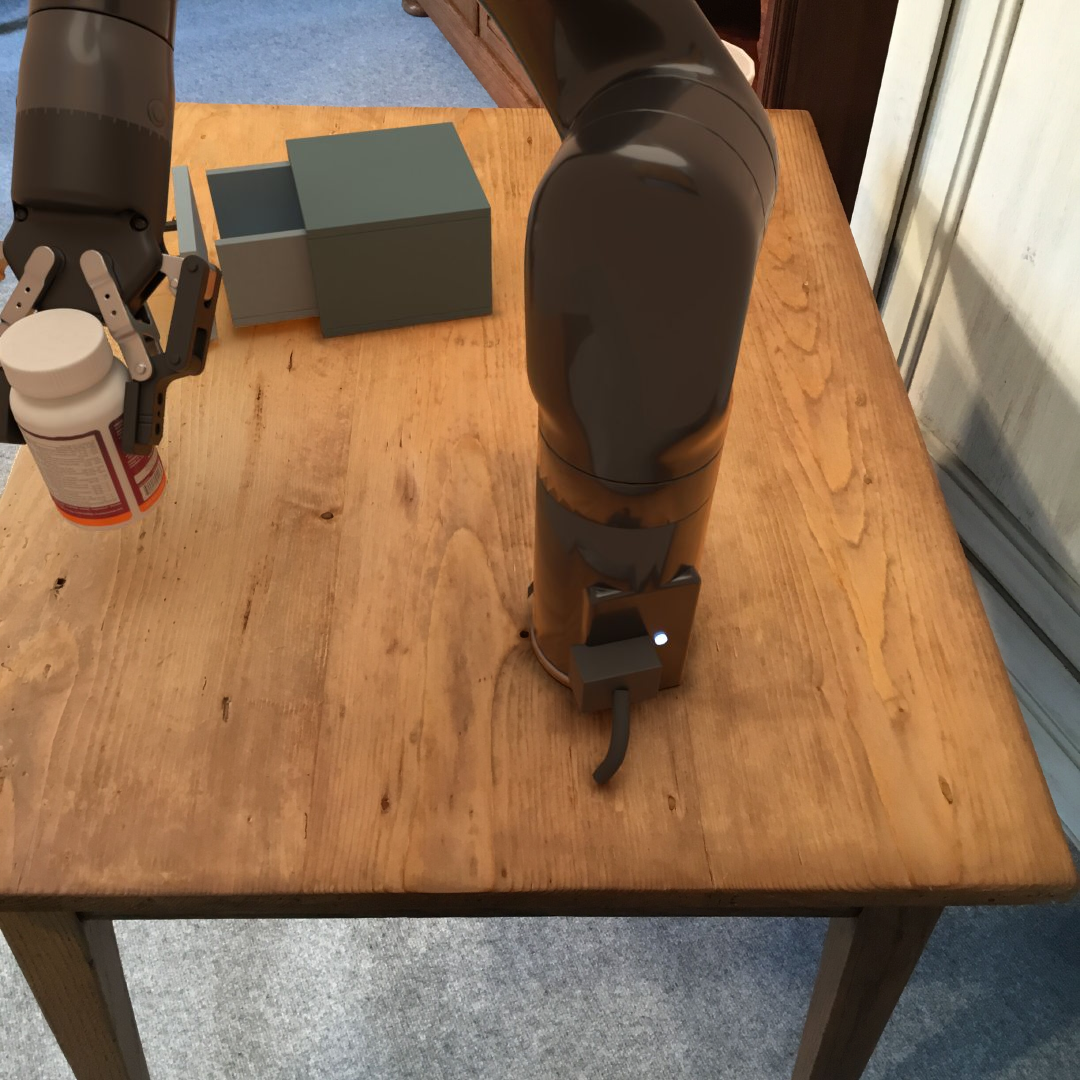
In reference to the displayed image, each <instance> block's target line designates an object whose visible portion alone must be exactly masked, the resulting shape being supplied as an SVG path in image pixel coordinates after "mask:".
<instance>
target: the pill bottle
mask: <svg viewBox="0 0 1080 1080" xmlns="http://www.w3.org/2000/svg"><path fill="white" fill-rule="evenodd" d="M0 363H1V365H2V367H3V369H4V372H5V375H6V377H7V380H8V382H9V384H10V385H11V386H12V387H11V390H10V406H11V410H12V412H13V415H14V418H15V420H16V422H17V424H18V426H19V428H20V430H21V432H22V434H23V437H24V439H25V441H26V443H27V444H26V445H27V447H28V449H29V452H30V454H31V456H32V458H33V461H34V462H35V465H36V467H37V469H38V471H39V473H40V475H41V477H42V480H43V483H44V484H45V486H46V488H47V490H48V492H49V495H50V497H51V500H52V501H53V504H54V505H55V507H56V509H57V512H58V513H59V514H60V516H61V517H62V518H63V519H64V520H65V521H66V523H68V524H69V525H71V526H73V527H75V528H76V529H79V530H83V531H88V532H96V533H98V532H101V533H103V532H104V533H105V532H112V531H119V530H123V529H126V528H128V527H131V526H133V525H135V524H137V523H140V522H141V521H143V520H145V519H147V518H148V517H150V516H151V515H152V514H153V513H154V512H155V511H156V510H157V509H158V508H159V506H160V505H161V504H162V501H163V500H164V498H165V495H166V492H167V487H168V479H167V474H166V472H165V468H164V464H163V461H162V459H161V455H160V453H159V451H158V448H157V447H158V446H156V445H153V448H152V452H151V454H150V455H149V456H140V455H129V454H124V453H123V452H122V449H121V440H122V427H123V413H124V399H125V385H126V382H133V377H132V376H131V374H130V372H129V370H128V367H127V365H126V363H125V362H123V361H122V359H120V358H119V357H117V356H116V355H114V352H113V349H112V346H111V344H110V341H109V339H108V336H107V333H106V330H105V328H104V326H102V324H101V322H100V321H99V320H98V319H97V318H96V317H94V316H93V315H91V314H89V313H87V312H84V311H81V310H76V309H51V310H45V311H41V312H38V313H36V312H34V314H32V315H29V316H27V317H25V318H23V319H21V320H19V321H17V322H16V323H14V324H13V325H11V326H10V327H9V328H8V329H7V330H6V331H5V332H4V333H3V334H2V336H1V337H0Z"/></svg>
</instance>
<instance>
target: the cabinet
mask: <svg viewBox="0 0 1080 1080" xmlns="http://www.w3.org/2000/svg"><path fill="white" fill-rule="evenodd" d="M285 147H286V154H287V159H288V160H287V161H290V165H291V169H292V174H293V178H294V182H295V187H296V191H297V195H298V200H299V204H300V208H301V213H302V217H303V221H304V226H305V230H306V234H307V241H308V248H309V254H310V260H311V267H312V273H313V280H314V286H315V292H316V299H317V305H318V312H319V316H317V318H318V322H319V326H320V331H321V334H322V338H323V339H329V338H335V337H337V338H338V337H343V336H350V335H358V334H365V333H371V332H379V331H385V330H393V329H398V328H404V327H413V326H420V325H426V324H433V323H441V322H446V321H456V320H461V319H467V318H475V317H481V316H488V315H493V257H492V256H493V253H492V251H493V250H492V249H493V247H492V246H493V245H492V244H493V243H492V241H493V240H492V207H491V204H490V202H489V199H488V197H487V195H486V193H485V192H484V191H485V190H484V188H483V187H482V185H481V183H480V180H479V177H478V176H477V173H476V171H475V169H474V167H473V164H472V162H471V160H470V158H469V156H468V154H467V151H466V149H465V147H464V145H463V142H462V140H461V138H460V136H459V133H458V131H457V129H456V126H455V124H454V122H453V121H447V122H437V123H428V124H419V125H409V126H400V127H392V128H391V127H390V128H383V129H372V130H364V131H355V132H354V131H353V132H345V133H337V134H335V133H334V134H326V135H316V136H308V137H298V138H291V139H289V138H288V139H285Z"/></svg>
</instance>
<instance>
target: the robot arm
mask: <svg viewBox="0 0 1080 1080" xmlns="http://www.w3.org/2000/svg"><path fill="white" fill-rule="evenodd" d="M475 1H476V2H477V3H478V4H479V6H480V7H481V8H482V9H483V10H484V11H485V13H486V15H488V16H489V18H490V19H491V20H492V22H493V23H494V25H495V26H496V28H497V29H498V30H499V32H500V34H501V35H502V36H503V38H504V40H505V41H506V42H507V44H508V45H509V47H510V49H511V50H512V52H513V54H514V55H515V57H516V59H517V60H518V62H519V63H520V65H521V66H522V68H523V70H524V72H525V73H526V75H527V77H528V79H529V81H530V82H531V84H532V86H533V87H534V89H535V91H536V93H537V95H538V96H539V98H540V100H541V102H542V104H543V106H544V108H545V110H546V111H547V113H548V115H549V117H550V120H551V121H552V124H553V126H554V128H555V130H556V133H557V134H558V136H559V139H560V142H561V145H560V146H559V148H558V149H557V151H556V153H555V155H554V157H553V158H552V160H551V161H550V163H549V165H548V167H547V168H546V170H545V172H544V173H543V175H542V177H541V178H540V180H539V182H538V184H537V186H536V189H535V191H534V194H533V196H532V200H531V202H530V206H529V207H530V208H529V210H528V216H527V221H526V228H525V238H524V239H525V240H524V255H523V256H524V257H523V296H524V297H523V298H524V333H525V335H524V336H525V364H526V365H525V367H526V375H527V382H528V385H529V388H530V391H531V393H532V396H533V399H534V400H535V402H536V403H537V442H536V443H537V445H536V446H537V447H536V448H537V449H536V468H535V469H536V471H535V508H534V541H533V542H534V543H533V544H534V546H533V579H532V582H531V583H530V584H529V585H528V586H527V590H526V591H527V595H526V597H527V600H529V598H530V597H531V596H532V597H533V598H532V613H531V617H530V639H531V645H532V648H533V651H534V653H535V656H536V657H537V660H538V661H539V663H540V664H541V665H542V667H543V668H544V669H545V670H546V672H548V674H549V675H551V676H552V677H553V678H554V679H555V680H556V681H558V682H559V683H561V684H562V685H564V686H566V687H567V688H569V689H571V690H572V694H573V696H574V698H575V702H576V704H577V707H578V710H579V713H580V714H581V715H584V714H588V713H593V712H598V711H603V710H607V709H611V733H610V734H611V735H610V740H609V746H608V749H607V753H606V755H605V757H604V759H603V760H602V761H601V762H600V763H599V765H598V766H597V767H596V768H595V769H594V771H593V772H592V774H591V775H592V780H593V781H594V782H595V783H597V784H598V785H601V786H604V785H607V784H608V783H609V782H610V780H612V778H613V776H614V775H615V774H616V773H617V772H618V770H619V769H620V768H621V766H622V765H623V762H624V760H625V758H626V754H627V751H628V748H629V742H630V731H631V704H635V703H639V702H644V701H648V700H653V699H656V698H657V697H658V694H659V690H661V689H667V688H670V687H675V686H678V685H680V684H682V682H683V677H684V672H685V667H686V662H687V657H688V653H689V647H690V644H691V639H692V632H693V627H694V624H695V618H696V613H697V608H698V603H699V599H700V593H701V590H702V589H701V588H702V585H703V584H702V583H703V581H702V576H701V575H700V568H701V562H702V558H703V552H704V547H705V543H706V537H707V531H708V526H709V522H710V517H711V511H712V507H713V506H712V505H713V501H714V495H715V491H716V485H717V480H718V477H719V472H720V466H721V463H722V462H721V461H722V456H723V450H724V446H725V441H726V437H727V433H728V429H729V422H730V418H731V414H732V409H733V404H734V381H735V375H736V371H737V367H738V366H737V365H738V361H739V355H740V350H741V344H742V339H743V335H744V329H745V325H746V324H745V323H746V319H747V315H748V308H749V305H750V300H751V294H752V289H753V285H754V280H755V275H756V272H757V271H756V270H757V267H758V261H759V257H760V254H761V251H762V249H763V248H762V247H763V244H764V242H765V238H766V234H767V231H768V228H769V224H770V221H771V217H772V214H773V210H774V207H775V202H776V198H777V195H778V191H779V181H780V180H779V179H780V156H779V150H778V145H777V138H776V135H775V131H774V128H773V126H772V123H771V120H770V118H769V116H768V114H767V112H766V110H765V107H764V106H763V104H762V102H761V100H760V98H759V97H758V95H757V93H756V92H755V89H754V88H753V86H751V85H750V83H749V82H748V80H747V78H746V77H745V75H744V74H743V72H742V71H741V69H740V68H739V66H738V65H737V63H736V62H735V60H734V59H733V57H732V56H731V54H730V53H729V51H728V49H727V48H726V46H725V45H724V44H723V42H722V41H721V40H722V39H721V38H720V36H719V34H718V33H717V32H716V30H715V28H714V27H713V26H712V24H711V23H710V21H709V20H708V19H707V17H706V15H705V14H704V12H703V11H702V9H701V8H700V6H699V4H698V3H697V1H696V0H475ZM178 2H179V0H29V1H28V12H27V13H28V14H27V15H28V18H27V19H28V20H27V25H26V33H25V38H24V42H23V46H22V51H21V54H20V60H19V67H18V68H19V69H18V76H17V77H18V79H17V91H16V92H17V93H16V96H15V122H14V123H15V124H14V138H13V153H12V155H13V156H12V166H11V168H12V169H11V180H10V181H11V182H10V200H11V205H12V211H13V220H12V222H11V223H12V224H11V226H10V228H9V230H8V232H7V233H6V235H5V236H4V238H3V240H0V283H1V282H2V281H4V280H5V279H6V273H5V272H6V269H7V267H8V266H9V269H10V270H11V271H12V273H13V275H14V276H15V278H16V280H17V281H18V283H17V284H16V286H15V288H14V290H13V291H12V293H11V295H10V297H9V298H8V300H7V302H6V303H5V305H4V306H3V309H2V310H1V311H0V337H1V336H2V334H3V333H4V332H5V331H6V330H7V329H8V328H9V327H10V326H11V325H13V324H14V323H16V322H17V321H19V320H21V319H23V318H25V317H27V316H29V315H32V314H34V313H38V312H41V311H45V310H51V309H76V310H81V311H84V312H87V313H89V314H91V315H93V316H94V317H96V318H97V319H98V320H99V321H100V322H101V324H102V326H103V327H105V328H107V330H108V333H109V334H110V336H111V338H112V339H113V340H114V341H115V342H116V344H117V345H118V347H119V350H120V352H121V355H122V357H123V360H124V363H125V365H126V367H127V368H128V370H129V372H130V374H131V376H132V378H133V382H126V385H125V399H124V413H123V427H122V440H121V449H122V452H123V453H124V454H129V455H140V456H149V455H150V454H151V452H152V448H153V445H156V447H159V446H160V444H161V442H162V439H163V438H164V429H165V428H164V425H165V416H166V415H165V414H166V413H165V412H166V403H167V402H166V399H167V390H168V388H169V386H170V385H171V383H173V382H174V381H176V380H180V379H183V378H186V377H197V376H200V375H201V374H202V373H203V372H204V371H205V369H206V363H207V358H208V353H209V347H210V342H211V340H210V338H211V332H212V327H213V322H214V317H215V318H216V312H217V311H216V310H217V305H218V300H219V295H220V291H221V284H222V281H223V278H222V273H221V269H220V267H218V266H217V265H215V264H213V263H212V262H210V261H209V262H208V261H206V260H204V259H202V258H201V257H199V256H197V255H189V256H187V257H186V258H182V257H178V255H172V254H170V253H169V251H168V249H167V247H166V244H165V239H164V238H165V237H164V233H165V232H164V229H165V225H166V222H167V221H168V208H169V207H168V206H169V191H170V178H171V168H172V153H173V137H174V125H175V123H174V122H175V114H176V113H175V111H176V81H175V67H174V66H175V65H174V64H175V63H174V60H175V44H176V31H177V19H178V16H177V15H178ZM166 277H167V279H168V290H169V292H170V293H171V295H172V296H174V302H173V308H172V313H171V319H170V322H169V323H170V324H169V329H168V335H167V339H166V346H165V349H164V348H163V347H162V344H161V342H160V341H161V334H160V331H159V329H158V326H157V324H156V321H155V319H154V316H153V313H152V311H151V308H150V306H149V303H148V300H149V298H150V297H151V296H152V295H153V294H154V292H155V291H156V290H157V289H158V287H159V286H161V284H162V282H163V281H165V279H166ZM163 349H164V350H165V351H164V350H163ZM11 387H12V386H11V385H10V384H9V382H8V380H7V377H6V375H5V372H4V369H3V367H2V365H1V363H0V444H6V445H7V444H9V445H19V446H26V445H27V443H26V441H25V439H24V437H23V434H22V432H21V430H20V428H19V426H18V424H17V422H16V420H15V418H14V415H13V412H12V410H11V406H10V390H11Z"/></svg>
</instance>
